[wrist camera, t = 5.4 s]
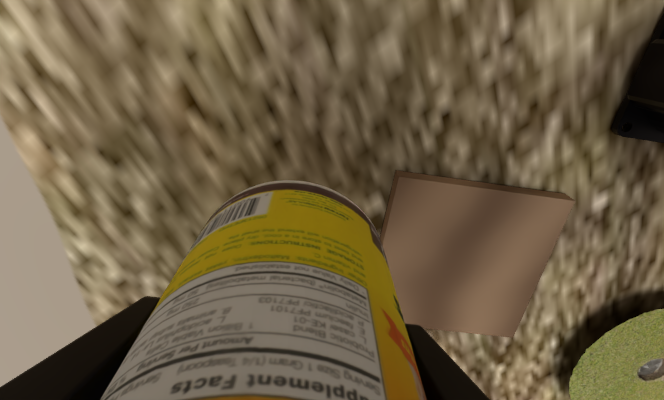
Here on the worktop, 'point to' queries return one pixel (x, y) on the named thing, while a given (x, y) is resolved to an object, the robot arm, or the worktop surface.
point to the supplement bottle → (277, 309)
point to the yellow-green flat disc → (623, 362)
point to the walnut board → (468, 250)
